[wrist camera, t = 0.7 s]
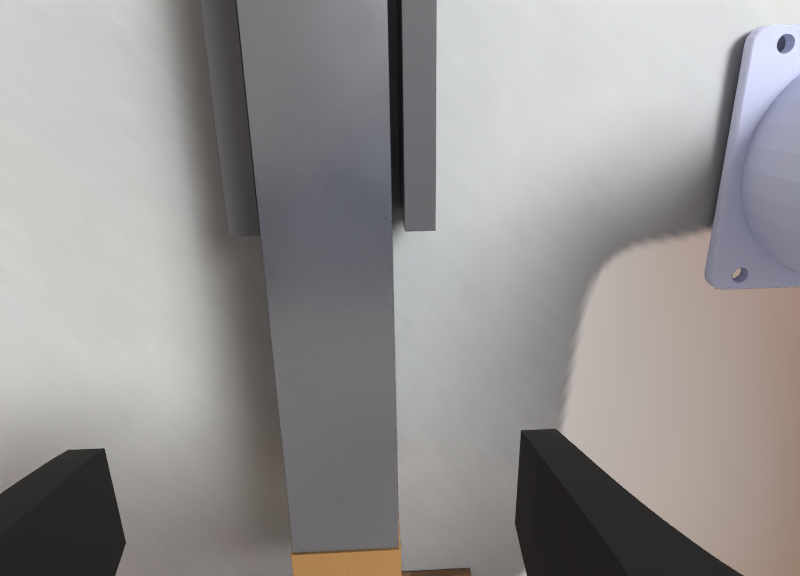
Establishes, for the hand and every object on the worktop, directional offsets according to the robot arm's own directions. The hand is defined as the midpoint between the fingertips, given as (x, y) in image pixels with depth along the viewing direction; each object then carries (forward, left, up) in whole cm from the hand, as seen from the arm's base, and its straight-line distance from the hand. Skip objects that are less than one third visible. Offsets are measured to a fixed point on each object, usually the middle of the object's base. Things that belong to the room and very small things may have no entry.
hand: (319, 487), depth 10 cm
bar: (0, -2, -10) cm, 10 cm away
